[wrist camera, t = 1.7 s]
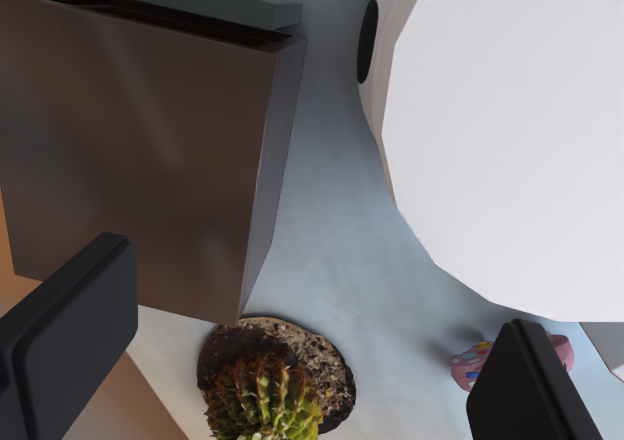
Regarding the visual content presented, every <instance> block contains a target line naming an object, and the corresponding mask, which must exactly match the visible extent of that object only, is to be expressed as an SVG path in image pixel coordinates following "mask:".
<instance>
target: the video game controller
mask: <svg viewBox="0 0 624 440" xmlns="http://www.w3.org/2000/svg"><path fill="white" fill-rule="evenodd" d="M545 332H546V331H545ZM546 334H547V335H548V337H549V339H550V341H551V343H552V345H553V347H554V349H555V350H556V352H557V354H558V356H559V358H560V360H561V362H562V363H563V365H564V367H565V369H566V371H567V373H568V372H570V371H571V370H572V368H573V365H574V354H573V349H572V347H571V344H570V342H569V339H568V338H567V337H566V336H564V335H551V333H549V332H546ZM494 343H495V342H486V341H482V342H480V343H479V344H477V345H475V346H473V347H472V348H471V349H470V350H468V351H466V352H464V353H462V354H459V355H457V356H455V357H453V358H452V359H451V360H450V366H451V375H452V377H453V378H454V380H455V381H456V383H457V384H458V385H459V386H460V387H461V388H462V389H463V390H465V391H468V392H470V391H471V389H472V387H473V385H474V383H475V381H476V379H477V377H478V375H479V373H480V371H481V369H482V367H483V365H484V363H485V361H486V359H487V357H488V355H489V353H490V351H491V349H492V347H493V345H494Z"/></svg>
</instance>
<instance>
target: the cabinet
mask: <svg viewBox="0 0 624 440" xmlns="http://www.w3.org/2000/svg"><path fill="white" fill-rule="evenodd" d="M100 4H109V5H114V6H118V7H122V8H127V9H131V10H136V11H140V12H145V13H149V14H153V15H158V16H162V17H167V18H171V19H175V20H180V21H184V22H189V23H193V24H198V25H202V26H206V27H211V28H215V29H220V30H224V31H228V32H233V33H237V34H242V35H246V36H251V37H255V38H259V39H264V40H268V41H273V42H277V43H275V44H273V45H270V46H268V47H266V48H263V49H261V48H257V47H253V46H248V45H244V44H239V43H235V42H231V41H226V40H222V39H217V38H213V37H209V36H204V35H200V34H195V33H191V32H187V31H182V30H178V29H173V28H169V27H164V26H160V25H156V24H151V23H147V22H142V21H138V20H134V19H129V18H125V17H120V16H116V15H112V14H107V13H103V12H98V11H94V10H89V9H85V8H81V7H76V6H72V5H100ZM307 40H308V38H307V37H304V36H300V35H295V34H291V33H286V32H282V31H277V30H272V31H266V30H262V29H257V28H253V27H249V26H244V25H240V24H235V23H231V22H226V21H222V20H218V19H213V18H209V17H204V16H200V15H195V14H191V13H187V12H182V11H178V10H173V9H169V8H164V7H160V6H156V5H151V4H147V3H142V2H138V1H133V0H0V187H1V192H2V199H3V205H4V211H5V217H6V224H7V230H8V236H9V242H10V248H11V255H12V261H13V267H14V273H15V275H18V276H23V277H27V278H31V279H35V280H39V281H43V282H44V281H45V280H46V279H47V278H49V277H50V276H51V275H52V274H53V273H55V272H56V271H57V270H58V269H59V268H60V267H62V266H63V265H64V264H65V263H66V262H67V261H69V260H70V259H71V258H72V257H73V256H75V255H76V254H77V253H78V252H79V251H80V250H82V249H83V248H84V247H85V246H86V245H88V244H89V243H90V242H91V241H92V240H93V239H95V238H96V237H97V236H98V235H99V234H101V233H102V232H105V231H107V232H112V233H116V234H121V235H126V236H128V237H129V239H130V242H131V243H134V244H135V246H136V264H137V303H138V305H142V306H146V307H150V308H154V309H158V310H163V311H167V312H171V313H175V314H179V315H183V316H187V317H191V318H196V319H200V320H204V321H208V322H212V323H216V324H220V325H224V326H229V327H233V328H236V327H237V324H238V322H239V320H240V317H241V315H242V313H243V310H244V308H245V305H246V303H247V301H248V298H249V296H250V294H251V291H252V289H253V286H254V284H255V282H256V279H257V277H258V275H259V272H260V270H261V267H262V265H263V263H264V260H265V258H266V256H267V253H268V251H269V248H270V246H271V243H272V238H273V232H274V226H275V221H276V215H277V210H278V204H279V198H280V193H281V187H282V181H283V176H284V170H285V164H286V159H287V153H288V147H289V142H290V136H291V130H292V125H293V119H294V114H295V108H296V102H297V97H298V91H299V85H300V80H301V74H302V68H303V63H304V57H305V51H306V46H307Z"/></svg>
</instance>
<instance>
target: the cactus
mask: <svg viewBox="0 0 624 440" xmlns="http://www.w3.org/2000/svg"><path fill="white" fill-rule="evenodd" d="M197 379H198V380H197V385H198V388H200V390H201V393H202V395H203V398H204V400H205V402H206V404H207V405H208V406H209V407H208V410H207V412H205V413H204V415H206V416H209V417H208V419H207V421H208V425H209V426H210V427H211V428H210V430H211V431H212V433H213V434H214V435H211V436H210V437H216V438H217V440H317V439H318V435H320V434H323V433H327V432H329V431H331V430H333V429H335V428H337V427H338V426H339V425H340V423H341V422H342V421H344V420H346V419H347V418H348V416H349V414H350V413H351V411H352V410H353V406H354V405H355V400H356V388H355V380H353V374H352V371H351V369H350V367H347V365H346V364H345V359H344V358H343V356H342V354H341V353H340V351H339V350H337V348H336V347H335V346H334V345H333V344H332V343H330V342H328V341H327V340H326V338H324V337H323V336H319V335H315V334H312V333H309V332H307V331H305V330H304V329H302V328H301V327H299V326H296V325H293V324H292V323H288V322H285V321H283V320H280V319H276V318H268V317H255V318H245V319H240V320H239V322H238V324H237V327H236V328H233V327H229V326H223V327H221V326H220V327H219V328H218V329H217V331H216V332H213V333H212V334H211V336H210V337H209V338H208V340H207V341H206V343H205V345H204V347H203V349H202V350H201V353H200V356H199V360H198V368H197ZM203 412H204V411H203Z"/></svg>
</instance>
